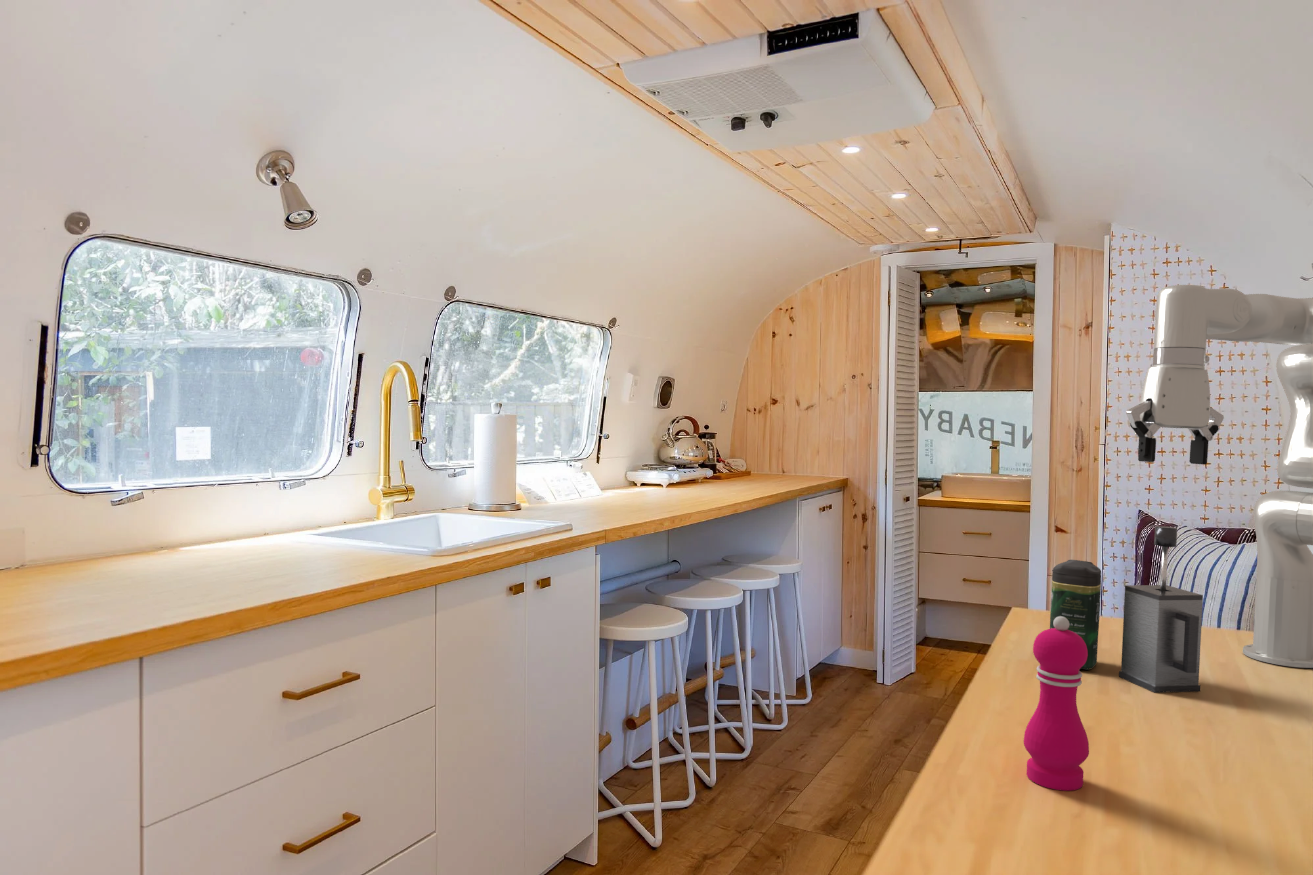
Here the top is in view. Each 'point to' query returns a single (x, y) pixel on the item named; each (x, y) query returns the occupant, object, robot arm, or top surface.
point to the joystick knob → (1165, 548)
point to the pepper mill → (1057, 711)
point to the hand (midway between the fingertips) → (1172, 462)
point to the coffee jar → (1078, 602)
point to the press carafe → (1161, 638)
